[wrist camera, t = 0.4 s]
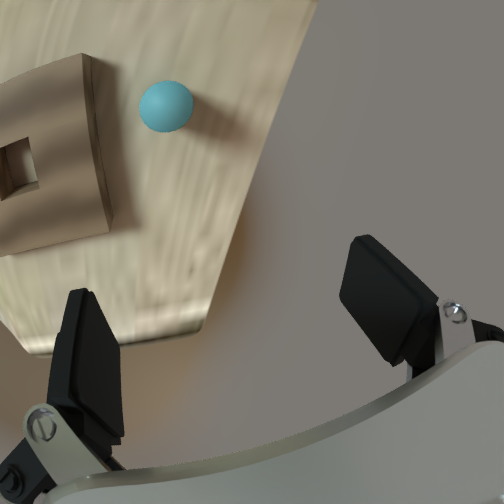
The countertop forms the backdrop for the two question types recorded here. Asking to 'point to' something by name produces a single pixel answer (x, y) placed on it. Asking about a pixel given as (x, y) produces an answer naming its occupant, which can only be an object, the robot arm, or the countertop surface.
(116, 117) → the countertop surface
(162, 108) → the dowel peg
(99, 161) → the socket block
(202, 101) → the countertop surface
